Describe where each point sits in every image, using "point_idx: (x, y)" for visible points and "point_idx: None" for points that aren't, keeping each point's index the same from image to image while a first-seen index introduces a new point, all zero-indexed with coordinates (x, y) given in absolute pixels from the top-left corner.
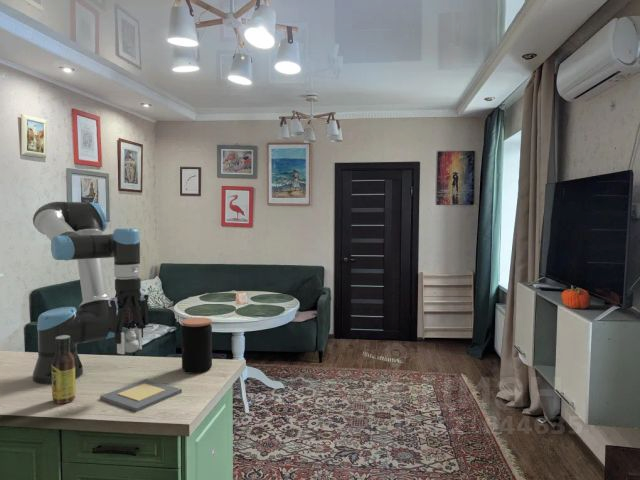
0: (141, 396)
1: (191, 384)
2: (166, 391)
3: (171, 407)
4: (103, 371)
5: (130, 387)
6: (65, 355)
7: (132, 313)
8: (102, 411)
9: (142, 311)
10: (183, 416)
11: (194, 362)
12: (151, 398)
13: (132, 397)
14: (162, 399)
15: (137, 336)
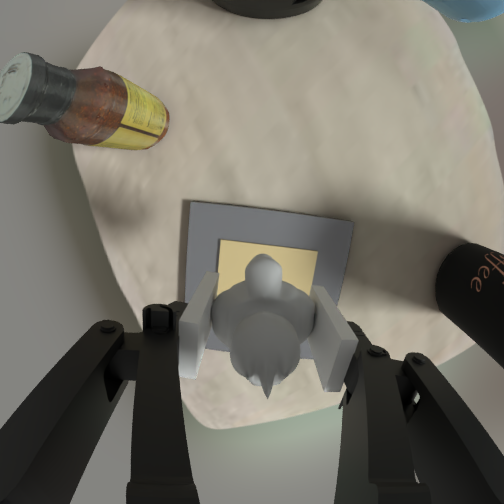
0: None
1: (372, 340)
2: None
3: (240, 384)
4: (356, 43)
5: (279, 231)
6: (53, 127)
7: (367, 437)
8: (147, 270)
9: (432, 453)
10: (219, 417)
11: (448, 311)
12: None
13: None
14: None
15: (320, 343)
